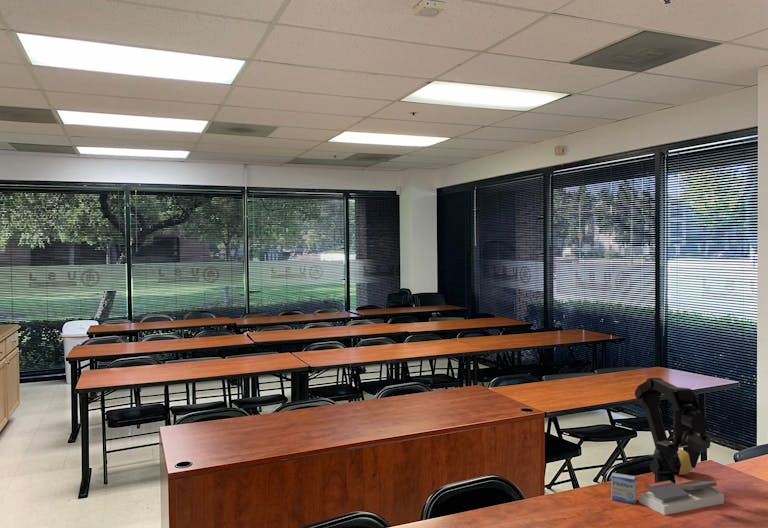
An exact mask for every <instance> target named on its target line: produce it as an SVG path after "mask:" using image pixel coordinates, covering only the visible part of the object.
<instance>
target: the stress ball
mask: <svg viewBox="0 0 768 528" xmlns="http://www.w3.org/2000/svg"><path fill="white" fill-rule="evenodd" d="M677 453H678V454H679V455H678V457H679V459H680V462H681V467H680V472H679V475H678V476H680V475H682V476H684V475H687V474H689V473H690V472H691V471H692V470H693V468H692V467H691V463H690V458H689V453H688V451H686V450H684V449H683V448H678V452H677Z"/></svg>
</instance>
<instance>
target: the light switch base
mask: <svg viewBox="0 0 768 528" xmlns="http://www.w3.org/2000/svg"><path fill="white" fill-rule="evenodd" d="M682 490H684V489H682ZM684 491H685V492H686V493H688V494H689V495H688V497H687V498H681V499H676V500H671V501H666V502H663V501H662V500H660V499H659V498H658V497H657V496H655V495H654V494H653V493H652V492H650V491H647V492H645V491H643V492H641V493H638V502H639V503H640V504H641V505H643V506H646V507H647V508H650V509H651V510H653V511H655V512H658V513H660V514H661V515H664V516H667V515H673V514H676V513H681V512H682V513H683V512H687V511H693V510H697V509H701V508H707V507H711V506H718V505H722V504H725V494H723V493H721V490H719V489H717V488H716V487H714V486H713V487H708V488H703V489H697V490H684Z"/></svg>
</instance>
